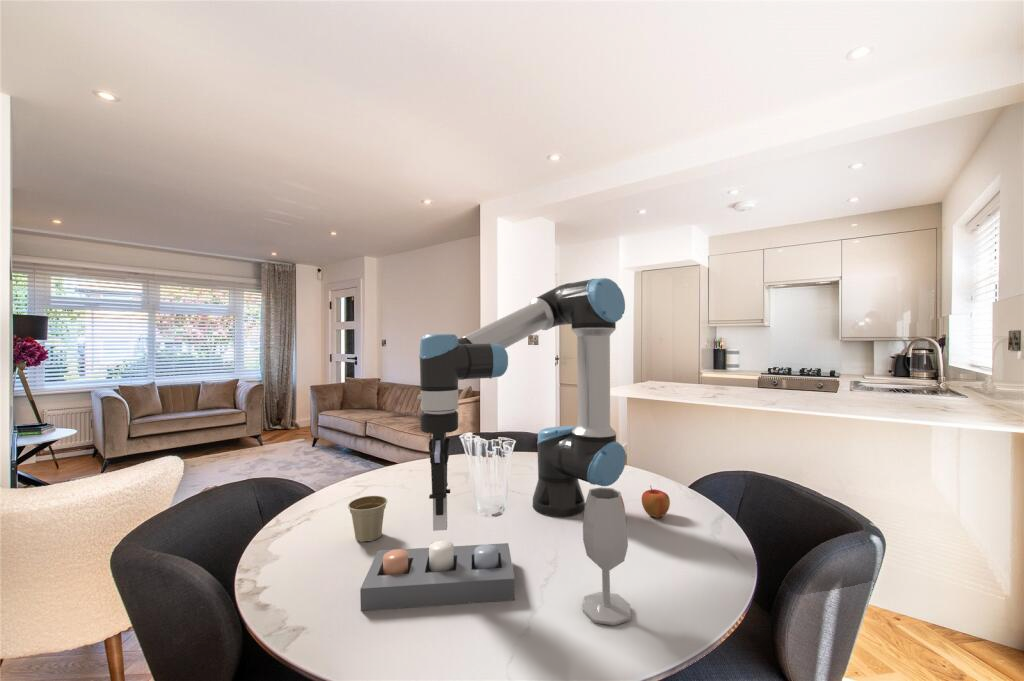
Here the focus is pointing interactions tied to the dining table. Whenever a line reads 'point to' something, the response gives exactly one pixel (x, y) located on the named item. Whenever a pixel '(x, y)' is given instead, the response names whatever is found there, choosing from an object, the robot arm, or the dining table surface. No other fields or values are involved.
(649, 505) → the apple
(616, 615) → the wineglass
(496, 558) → the slate key
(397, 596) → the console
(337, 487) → the dining table surface
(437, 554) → the ivory key
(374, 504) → the flower pot
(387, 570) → the terracotta key
